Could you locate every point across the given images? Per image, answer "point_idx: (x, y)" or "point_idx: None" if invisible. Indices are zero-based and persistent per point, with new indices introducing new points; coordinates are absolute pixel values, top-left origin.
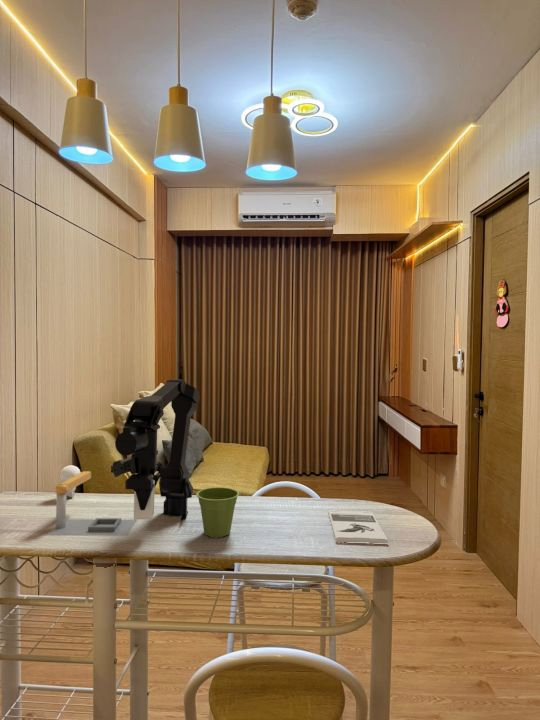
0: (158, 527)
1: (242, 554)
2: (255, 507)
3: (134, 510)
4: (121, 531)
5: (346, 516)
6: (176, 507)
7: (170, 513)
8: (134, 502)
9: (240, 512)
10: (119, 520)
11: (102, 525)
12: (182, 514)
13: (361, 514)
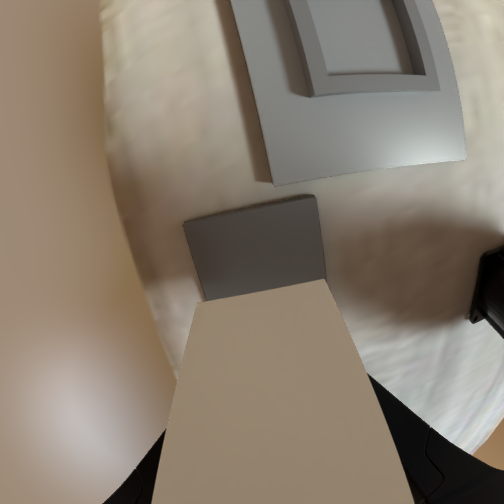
0: (417, 264)
1: None
2: (487, 405)
3: (188, 350)
4: (318, 133)
5: None
6: (501, 315)
7: (494, 281)
8: (175, 405)
9: (473, 400)
10: (414, 89)
11: (373, 16)
12: (487, 313)
13: None
